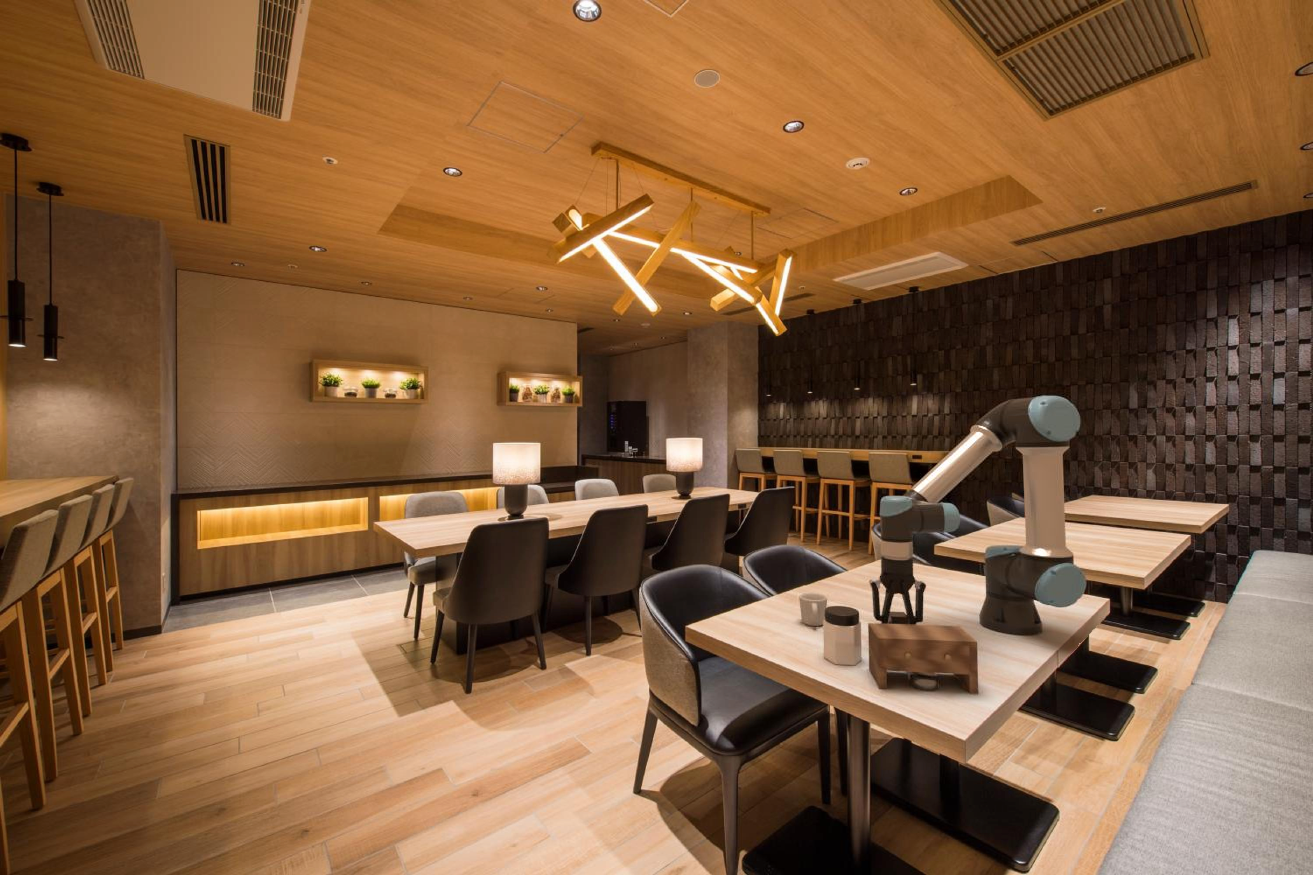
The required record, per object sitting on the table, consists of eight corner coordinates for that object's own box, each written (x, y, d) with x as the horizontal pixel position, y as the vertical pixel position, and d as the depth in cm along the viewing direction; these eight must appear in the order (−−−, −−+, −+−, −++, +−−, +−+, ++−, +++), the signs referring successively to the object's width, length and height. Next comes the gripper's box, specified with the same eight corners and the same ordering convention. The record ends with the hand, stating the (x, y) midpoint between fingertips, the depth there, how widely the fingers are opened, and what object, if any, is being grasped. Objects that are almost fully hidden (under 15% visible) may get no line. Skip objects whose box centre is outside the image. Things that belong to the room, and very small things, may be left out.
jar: (833, 649, 143) (832, 603, 143) (865, 657, 138) (864, 608, 138) (819, 660, 136) (818, 611, 137) (852, 668, 131) (851, 618, 131)
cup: (830, 632, 156) (829, 603, 157) (800, 630, 158) (800, 602, 158) (826, 619, 167) (825, 593, 167) (799, 618, 169) (798, 592, 169)
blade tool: (904, 646, 143) (904, 611, 143) (927, 678, 125) (926, 638, 125) (888, 645, 144) (887, 611, 144) (908, 677, 125) (908, 637, 125)
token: (933, 680, 125) (933, 669, 125) (943, 692, 119) (942, 681, 119) (905, 679, 125) (905, 668, 125) (913, 691, 120) (913, 679, 120)
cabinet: (960, 673, 127) (959, 626, 127) (979, 695, 117) (978, 643, 117) (869, 669, 131) (868, 622, 131) (879, 690, 120) (878, 639, 120)
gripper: (927, 554, 144) (929, 644, 144) (859, 553, 147) (860, 641, 147) (937, 560, 137) (939, 655, 137) (864, 559, 140) (866, 652, 140)
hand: (898, 648), depth 142 cm, fingers closed on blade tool, 4 cm apart
